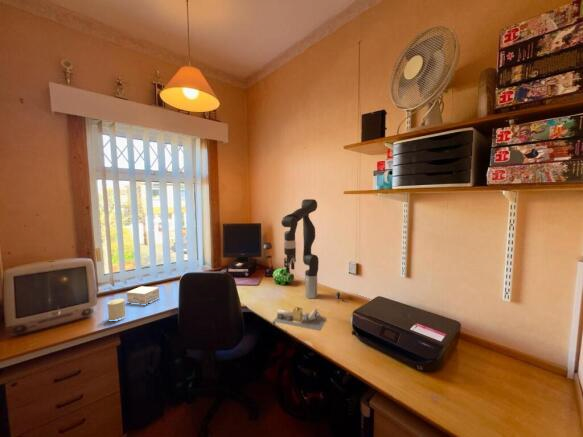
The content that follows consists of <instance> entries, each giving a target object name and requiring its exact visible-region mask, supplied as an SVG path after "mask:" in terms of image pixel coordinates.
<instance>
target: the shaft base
mask: <svg viewBox="0 0 583 437" xmlns="http://www.w3.org/2000/svg"><path fill="white" fill-rule="evenodd" d="M327 319H328V318H327V317H326V318H325V317H321V313H320V312H319V311H318V309H317V308H313V309H312V310H311V312H305V314H303V319H302V321H301V322H295V321H293V311H290V310H286V309H285V310H284V309H277V314H276V317H275V318H274V320H273V321H272V324H274V325H275V324H276V323H277V324H278V323H279V324H283V325H289V326H294V327H297V328H298V327H300V328H304V329H305V328H306V329H310V330H315V331H318V332H319V331H320V332H321V331H322V328H323V326H324V325H325V323H326V321H327ZM277 324H276V325H277Z"/></svg>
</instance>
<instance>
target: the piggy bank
mask: <svg viewBox="0 0 583 437" xmlns="http://www.w3.org/2000/svg"><path fill="white" fill-rule="evenodd" d="M272 277H273V280H274V284H276V285H281V286H284V285H286V284H289V283H292V282H293V281H294V280H295V274H293V273H291V272H290V273H286V267H281V268H280V267H279V268H276V269H275V270H274V271H273V273H272Z"/></svg>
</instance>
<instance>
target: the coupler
mask: <svg viewBox="0 0 583 437" xmlns="http://www.w3.org/2000/svg"><path fill="white" fill-rule="evenodd" d="M292 312H293V321H295V322H301V321H302V319H303V312H304V311H303V307H298V306H295V307H294V308H293V310H292Z"/></svg>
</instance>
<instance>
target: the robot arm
mask: <svg viewBox="0 0 583 437" xmlns="http://www.w3.org/2000/svg"><path fill="white" fill-rule="evenodd" d="M317 208H318V201H317V200H316V199H313V198H310V199H303V200H302V201H301V207H300V208H297V209H295V210H294V211H293V212H292V213H289V214H287V215H285V216H283V217H282V218H281V222H280V224H281V226H283V228H289V230H286V231H285V232H284V236H283V238H284V243H283V245H284V248H283V249H284V250H283V252H284V255H286V257H284V260H283V261H284V263H283V268H286V273H290V274H291V271H290V269H291V270H294V271H295V264H296V263H297V259H296V256H297V254H296V251H297V245H296V244H297V243H296V231H297V227H298V224H299V221H301V220H302V231H303V232H302V234H303V235H302V236H303V253H302V261H303V264H304V265H305V266H308V269H306V270H305V272H304V273H305V274H304V276H305V278H304V279H305V284H304V285H305V297H306V298H308V299H316V298H318V271H319V260H320V259H319V257H318V255H316V254H314V253H312V245H313V244H314V241H315V240H316V227H315V225H314V224H313V221H311V218H310V216H309V214H311V213H313V212H315V211H316V210H317Z"/></svg>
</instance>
